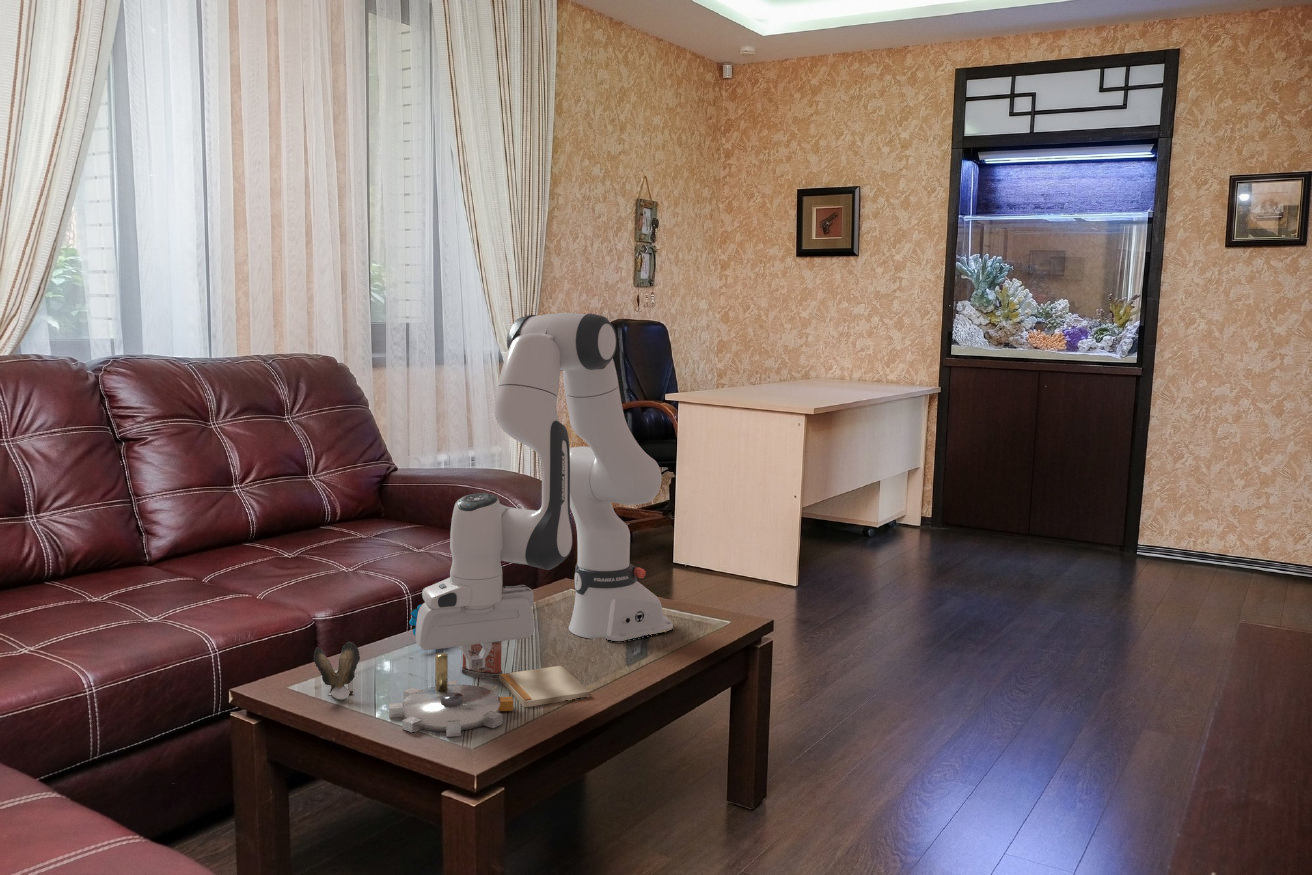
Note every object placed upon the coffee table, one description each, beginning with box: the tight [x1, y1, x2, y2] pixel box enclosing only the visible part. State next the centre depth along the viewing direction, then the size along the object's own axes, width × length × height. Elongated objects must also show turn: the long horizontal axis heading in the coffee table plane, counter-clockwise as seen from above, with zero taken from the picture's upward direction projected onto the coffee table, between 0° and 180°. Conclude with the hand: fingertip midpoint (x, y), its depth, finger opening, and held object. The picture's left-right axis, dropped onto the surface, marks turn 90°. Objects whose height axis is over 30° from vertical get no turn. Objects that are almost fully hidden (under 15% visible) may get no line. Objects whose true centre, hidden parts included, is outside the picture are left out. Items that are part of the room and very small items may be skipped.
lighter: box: [461, 641, 503, 680], centre depth 186 cm, size 8×3×10 cm, turn 70°
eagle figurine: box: [313, 640, 361, 701], centre depth 173 cm, size 8×7×9 cm
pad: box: [498, 665, 591, 708], centre depth 180 cm, size 12×14×1 cm
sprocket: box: [388, 652, 514, 738], centre depth 168 cm, size 20×20×8 cm
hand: (475, 667), depth 175 cm, fingers closed
